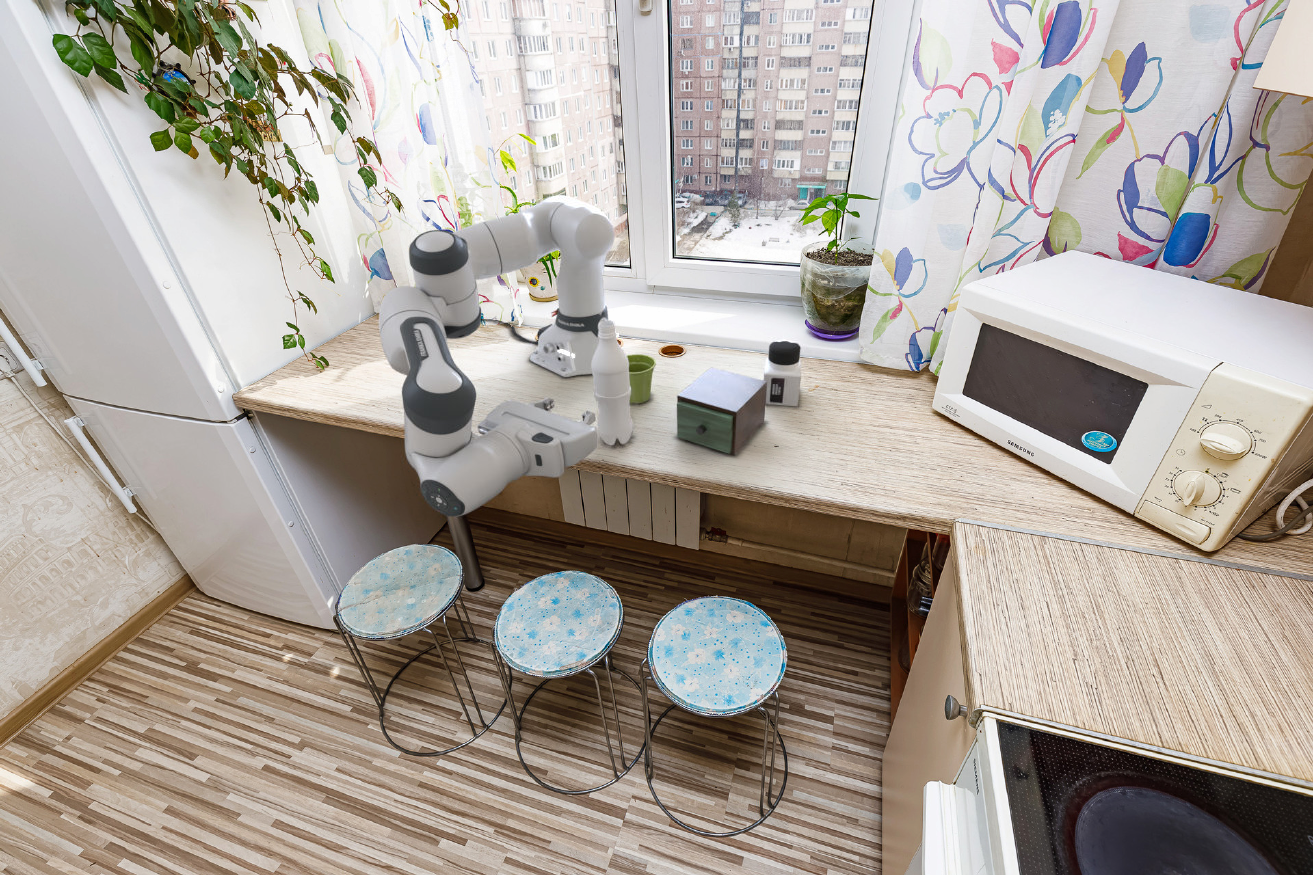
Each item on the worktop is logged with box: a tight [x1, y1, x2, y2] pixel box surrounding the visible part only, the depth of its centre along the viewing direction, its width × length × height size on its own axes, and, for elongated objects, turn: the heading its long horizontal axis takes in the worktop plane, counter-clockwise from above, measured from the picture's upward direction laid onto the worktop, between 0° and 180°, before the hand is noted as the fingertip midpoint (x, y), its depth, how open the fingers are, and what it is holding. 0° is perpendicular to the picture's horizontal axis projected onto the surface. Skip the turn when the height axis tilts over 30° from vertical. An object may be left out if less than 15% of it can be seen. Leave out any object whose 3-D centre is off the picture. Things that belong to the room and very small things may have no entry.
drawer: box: [676, 401, 733, 455], centre depth 119 cm, size 14×12×8 cm
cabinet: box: [676, 367, 767, 456], centre depth 121 cm, size 14×13×10 cm
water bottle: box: [591, 319, 634, 446], centre depth 115 cm, size 7×7×25 cm
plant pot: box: [626, 353, 657, 405], centre depth 134 cm, size 9×9×9 cm
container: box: [763, 339, 802, 407], centre depth 131 cm, size 8×8×13 cm
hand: (571, 408), depth 107 cm, fingers open, 8 cm apart
